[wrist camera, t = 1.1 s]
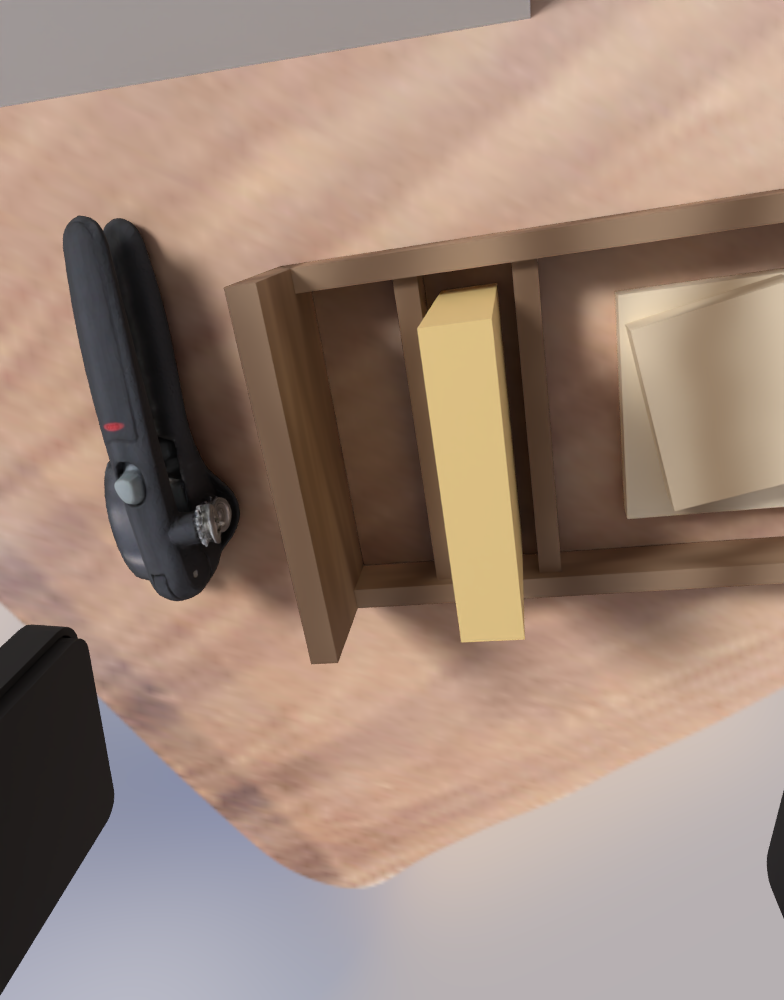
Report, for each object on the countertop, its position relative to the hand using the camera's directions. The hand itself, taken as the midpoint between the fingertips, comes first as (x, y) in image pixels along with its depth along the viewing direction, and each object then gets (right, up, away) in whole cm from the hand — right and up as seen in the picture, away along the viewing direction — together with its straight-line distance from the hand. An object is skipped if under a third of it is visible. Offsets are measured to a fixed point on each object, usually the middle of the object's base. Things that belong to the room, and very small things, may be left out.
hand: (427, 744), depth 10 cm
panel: (+4, +7, +24) cm, 26 cm away
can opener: (-12, +8, +27) cm, 30 cm away
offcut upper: (+13, +8, +21) cm, 26 cm away
